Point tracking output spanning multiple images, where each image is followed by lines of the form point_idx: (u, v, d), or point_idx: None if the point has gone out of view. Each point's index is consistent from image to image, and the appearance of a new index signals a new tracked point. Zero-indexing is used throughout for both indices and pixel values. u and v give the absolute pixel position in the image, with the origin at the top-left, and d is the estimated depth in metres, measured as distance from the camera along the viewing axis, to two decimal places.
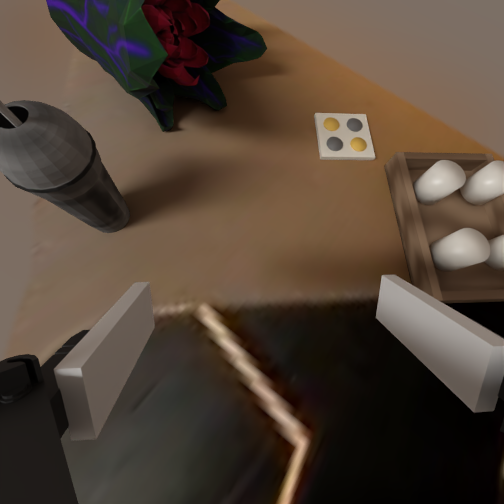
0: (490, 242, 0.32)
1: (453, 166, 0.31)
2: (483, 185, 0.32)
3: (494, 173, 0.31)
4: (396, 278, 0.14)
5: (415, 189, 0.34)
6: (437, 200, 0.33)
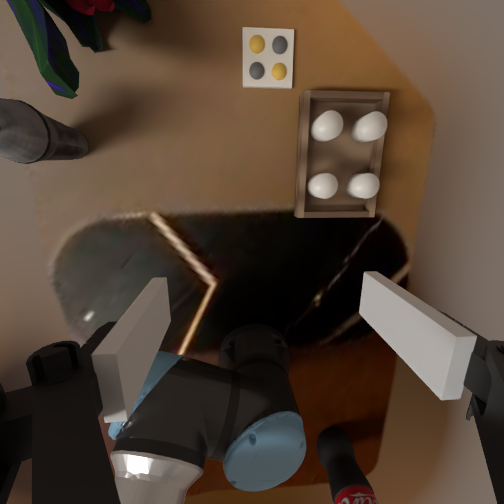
0: (351, 178, 0.44)
1: (336, 117, 0.39)
2: (359, 132, 0.41)
3: (367, 124, 0.40)
4: (377, 274, 0.15)
5: (311, 129, 0.42)
6: (324, 141, 0.43)
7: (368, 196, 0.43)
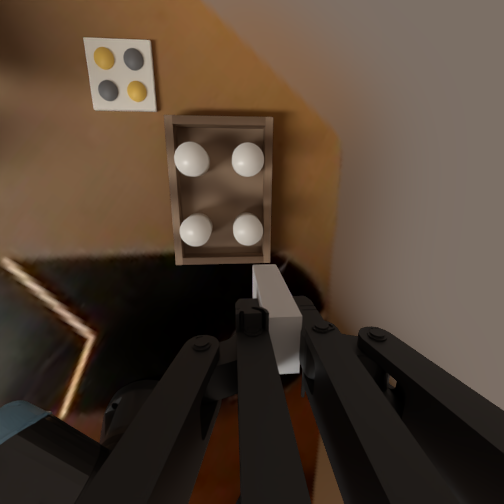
0: (236, 218, 0.37)
1: (196, 150, 0.31)
2: (233, 167, 0.33)
3: (238, 158, 0.32)
4: (273, 267, 0.16)
5: None
6: (196, 176, 0.35)
7: (250, 243, 0.35)
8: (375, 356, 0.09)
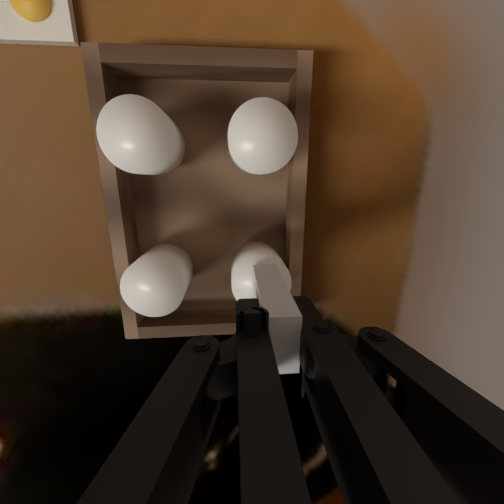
0: (237, 254, 0.19)
1: (147, 115, 0.14)
2: (231, 154, 0.16)
3: (242, 134, 0.14)
4: (273, 267, 0.16)
5: None
6: (156, 174, 0.17)
7: None
8: (375, 356, 0.09)
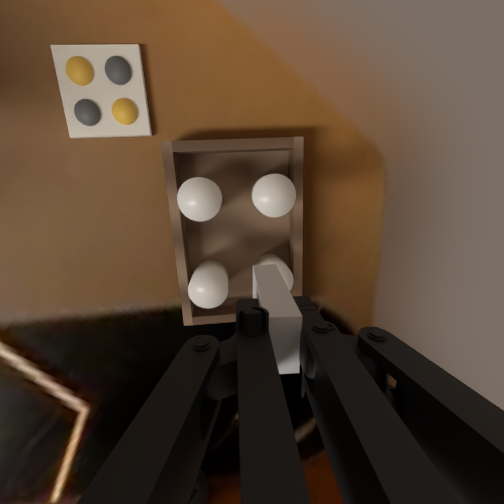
0: (257, 263, 0.30)
1: (206, 187, 0.23)
2: (255, 205, 0.25)
3: (262, 195, 0.24)
4: (273, 267, 0.16)
5: None
6: None
7: None
8: (375, 356, 0.09)
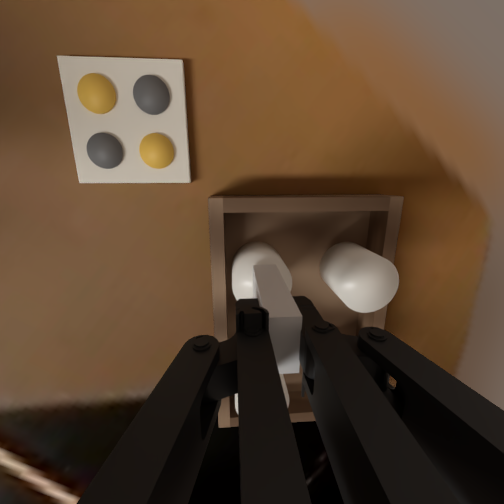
0: None
1: None
2: (335, 291, 0.18)
3: (352, 284, 0.17)
4: (273, 267, 0.16)
5: None
6: None
7: None
8: (375, 356, 0.09)
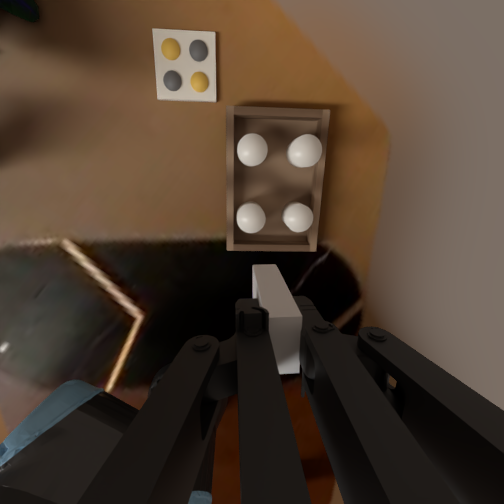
0: (286, 206, 0.39)
1: (258, 141, 0.34)
2: (290, 157, 0.35)
3: (298, 149, 0.33)
4: (273, 267, 0.16)
5: None
6: None
7: (301, 230, 0.38)
8: (375, 356, 0.09)
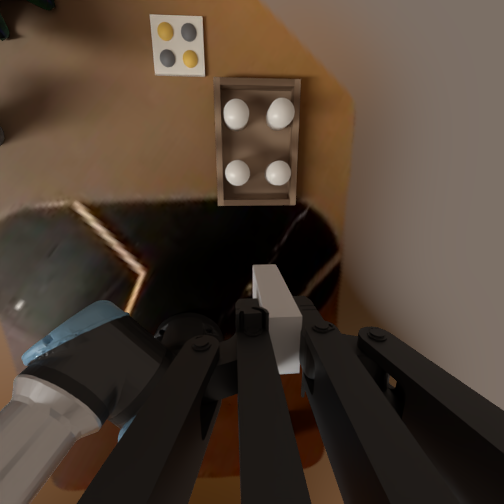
0: None
1: (241, 105, 0.40)
2: (269, 119, 0.41)
3: (274, 111, 0.40)
4: (273, 267, 0.16)
5: None
6: (237, 130, 0.44)
7: (281, 183, 0.44)
8: (375, 356, 0.09)
